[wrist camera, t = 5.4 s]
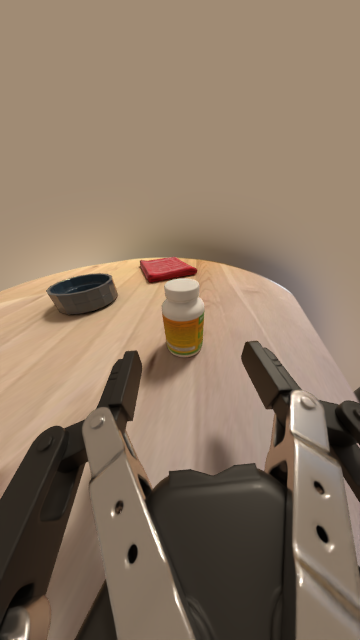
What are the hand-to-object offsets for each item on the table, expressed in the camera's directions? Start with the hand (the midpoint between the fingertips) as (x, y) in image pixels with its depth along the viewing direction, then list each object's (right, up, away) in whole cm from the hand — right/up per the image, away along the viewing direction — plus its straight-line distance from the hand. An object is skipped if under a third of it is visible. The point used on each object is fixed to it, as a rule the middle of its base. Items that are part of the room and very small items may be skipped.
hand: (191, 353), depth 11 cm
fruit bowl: (-23, +7, +25) cm, 35 cm away
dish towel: (-6, +22, +44) cm, 49 cm away
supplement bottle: (0, -1, +11) cm, 11 cm away
